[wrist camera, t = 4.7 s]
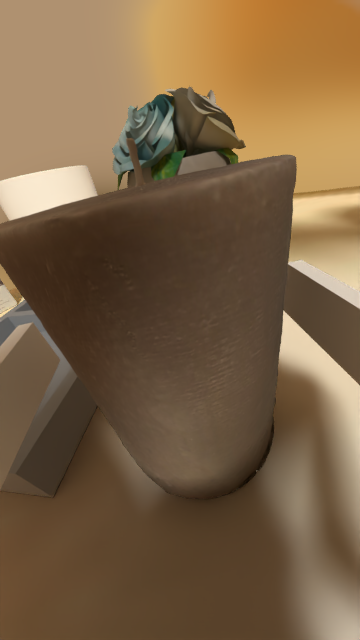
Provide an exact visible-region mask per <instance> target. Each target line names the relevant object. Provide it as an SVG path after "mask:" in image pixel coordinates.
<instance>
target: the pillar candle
mask: <svg viewBox="0 0 360 640" xmlns="http://www.w3.org/2000/svg"><path fill="white" fill-rule="evenodd" d="M126 142H127V146H128V149H129V154H130V158H131V161H132V163H133V167H134V172H135V178H136V186H133V187H129V188H126V189H122V190H118V191H114V192H110V193H106V194H103V195H98V196H94V197H90V198H86V199H83V200H79V201H75V202H71V203H67V204H63V205H60V206H57V207H54V208H50V209H48V210H44V211H41V212H38V213H34V214H31V215H28V216H24V217H21V218H17V219H14V220H10V221H7V222H4V223H2V224H0V264H1V265H2V267H3V268H4V269H5V271H6V273H7V274H8V275H9V277H10V279H11V280H12V282H13V283H14V284H15V286H16V287H17V289H18V290H19V292H20V293H21V295H22V296H23V297H24V299H25V300H26V302H27V303H28V304H29V306H30V307H31V309H32V310H33V312H34V313H35V314H36V316H37V317H38V319H39V320H40V321H41V323H42V325H43V327H44V328H45V330H46V331H47V333H48V334H49V336H50V337H51V339H52V340H53V341H54V343H55V344H56V346H57V347H58V348H59V350H60V351H61V353H62V354H63V355H64V357H65V358H66V360H67V361H68V363H69V364H70V366H71V367H72V369H73V370H74V372H75V373H76V375H77V376H78V378H79V379H80V380H81V381H82V383H83V384H84V386H85V387H86V388H87V390H88V391H89V393H90V395H91V397H92V398H93V400H94V401H95V403H96V404H97V406H98V407H99V409H100V410H101V411H102V413H103V414H104V416H105V417H106V419H107V420H108V422H109V424H110V425H111V426H112V427H113V429H114V430H115V432H116V433H117V435H118V436H119V438H120V439H121V440H122V444H123V445H124V446H125V448H126V449H127V450H128V452H129V453H130V455H131V456H132V457H133V458H134V459H135V460H136V463H137V464H138V465H139V466H140V467H141V468H142V470H143V471H144V472H145V473H146V474H147V476H149V477H150V478H151V479H152V480H153V481H154V482H156V484H158V485H159V486H160V487H162V488H163V489H164V490H165V491H166V492H167V493H170V494H175V495H178V496H181V497H185V498H195V499H203V498H204V499H209V498H215V497H219V496H223V495H226V494H229V493H232V492H233V491H235V490H236V489H238V488H241V487H242V486H243V485H244V484H246V483H247V482H248V481H249V480H250V479H252V477H254V476H255V474H256V470H259V469H260V468H261V467H262V466H263V464H264V462H265V460H266V458H267V456H268V454H269V451H270V448H271V444H272V440H273V435H274V419H273V410H274V406H275V402H276V398H275V395H276V393H275V392H276V386H277V376H278V360H279V359H278V358H279V352H280V344H281V335H282V324H283V308H284V298H285V290H286V283H287V274H288V259H289V247H290V238H291V226H292V213H293V192H294V188H295V182H296V157H295V156H292V155H281V156H272V157H268V158H263V159H256V160H250V161H244V162H240V163H235V164H231V165H226V166H223V167H218V168H211V169H207V170H201V171H195V172H191V173H186V174H182V175H177V176H174V177H170V178H165V179H161V180H157V181H153V182H149V183H144V179H143V175H142V170H141V166H140V162H139V159H138V155H137V147H136V143H135V141H134V139H133V138H126Z"/></svg>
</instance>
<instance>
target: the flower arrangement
mask: <svg viewBox="0 0 360 640" xmlns="http://www.w3.org/2000/svg"><path fill="white" fill-rule="evenodd" d="M165 91H167V92H169V93H171V94H172V95H173V96H174V97H173V96H168V95H166V94H160V95H157V96H156V97H155V99H154V100H153V101H152V102H151V103H150V102H149V103H147V104H146V105H145V106H144V107H143V108H141V109H140V110H138V111H137V108H134V107H132V106H130V107H129V108H128V109H129V110H128V119H127V121H126V125H125V127H124V129H123V130H122V132H121V135H120V138H119V141H118V142H117V143H116V145H115V146H114V147H113V149H112V150H113V153H114V155H115V158H114V161H113V170H114V172H115V173H116V174H119V175H118V189H119V186H120V183H121V179H122V176H123V174H124V173H126V172H127V171H130V172H128V182H127V183H128V184H127V185H128V188H129V187H133V186H136V178H135V172H134V167H133V163H132V161H131V158H130V154H129V149H128V146H127V142H126V138H133V139H134V141H135V143H136V147H137V155H138V159H139V162H140V166H141V170H142V175H143V179H144V183H149V182H153V181H157V180H161V179H165V178H170V177H174V176H177V175H182V174H186V173H191V172H195V171H201V170H207V169H211V168H218V167H223V166H226V165H231V164H235V163H238V156H237V155H236V154H235V153H234V152H233V151H232V149H233V148H236V149H242V148H244V147H246V146H245V144H244V141H243V140H239V139H238V138H237V136H236V134H235V130H234V126H233V124H232V121H231V119H230V118H229V117H228V115H226V113H225V112H224V111H223V110H222V109H221V108H220V107H219V106H217V105H216V104H215V103H216V100H215V96H214V93H213V91H212V90H210V92H209V93H208V97H209V99H208V98H207V97H205V96H201V95H200V94H197V93H195V92H194V91H193V89H192V88H191V87H189V88H188V89H186V88H179V89H177V90H173V89H167V90H165ZM229 158H230V159H229ZM230 161H231V162H230Z"/></svg>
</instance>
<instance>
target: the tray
mask: <svg viewBox="0 0 360 640" xmlns="http://www.w3.org/2000/svg"><path fill="white" fill-rule="evenodd" d="M32 322H33V323H34V324H35V326H36V327H37V329H38V330H39V331H40V333H41V334H42V335H43V337H44V338H45V340H46V341H47V342H48V344H49V345H50V346H51V348H52V349H53V351H54V352H55V353H56V355H57V356H58V357H59V359H60V362H59V364H58V367H57V369H56V371H55V373H54V375H53V377H52V379H51V382H50V384H49V386H48V388H47V390H46V392H45V394H44V397H43V399H42V401H41V403H40V405H39V407H38V410H37V412H36V414H35V416H34V418H33V420H32V422H31V425H30V427H29V429H28V431H27V433H26V435H25V437H24V440H23V442H22V444H21V446H20V448H19V450H18V453H17V455H16V457H15V459H14V461H13V463H12V465H11V468H10V470H9V472H8V474H7V476H6V478H5V480H4V483H3V485H2V487H1V489H0V491H6V492H14V493H22V494H30V495H38V496H45V497H54V495H55V493H56V490H57V488H58V486H59V484H60V482H61V480H62V478H63V476H64V474H65V472H66V470H67V468H68V466H69V463H70V461H71V459H72V457H73V455H74V453H75V451H76V449H77V447H78V445H79V443H80V441H81V439H82V436H83V434H84V432H85V430H86V428H87V426H88V424H89V422H90V420H91V418H92V416H93V414H94V412H95V409H96V407H97V404H96V403H95V401H94V400H93V398H92V397H91V395H90V393H89V391H88V390H87V388H86V387H85V386H84V384H83V383H82V381H81V380H80V379H79V378H78V376H77V375H76V373H75V372H74V370H73V369H72V367H71V366H70V364H69V363H68V361H67V360H66V358H65V357H64V355H63V354H62V353H61V351H60V350H59V348H58V347H57V346H56V344H55V343H54V341H53V340H52V339H51V337H50V336H49V334H48V333H47V331H46V330H45V328H44V327H43V325H42V323H41V321H40V320H39V319H38V317H37V316H36V314H35V313H34V312H33V310H32V309H31V307H30V306H29V304H28V303H27V302H26V300H24V301H23V302H21V303H20V304H18V305H17V306H16V307H14V308H13V309H12V310H10V311H9V312H8V313H6V314H5V315H3V316H2V317H1V318H0V346H1V345H2V344H3V343H4V342H5V340H6V339H7V338H8V337H9V336H10V335H11V333H12V332H13V331H14V330H15V329H16V327H17V326H19V325H23V324H27V323H32Z"/></svg>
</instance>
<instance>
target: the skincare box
mask: <svg viewBox="0 0 360 640" xmlns="http://www.w3.org/2000/svg"><path fill="white" fill-rule="evenodd" d="M16 305H17V302H16V300H15V299H14V297H13V296H12V295H11V293H10V292H9V291H8V289H7V288H6V286H5V285H4V284H3V282H2V281H1V280H0V313H2V312H4V311H6V310H8V309H10V308H12V307H14V306H16Z"/></svg>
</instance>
